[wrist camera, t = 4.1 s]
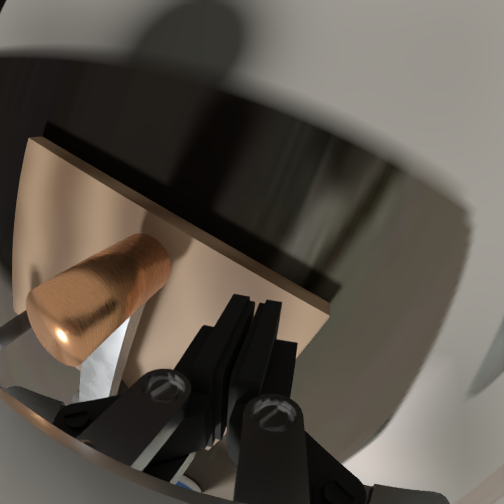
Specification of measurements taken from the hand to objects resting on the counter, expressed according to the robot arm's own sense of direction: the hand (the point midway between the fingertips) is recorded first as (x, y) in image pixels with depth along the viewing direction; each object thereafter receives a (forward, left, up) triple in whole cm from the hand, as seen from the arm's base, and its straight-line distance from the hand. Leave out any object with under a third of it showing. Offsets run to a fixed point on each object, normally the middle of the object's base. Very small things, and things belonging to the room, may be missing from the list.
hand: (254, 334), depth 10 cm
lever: (-6, -10, -4) cm, 12 cm away
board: (-8, -10, -7) cm, 15 cm away
